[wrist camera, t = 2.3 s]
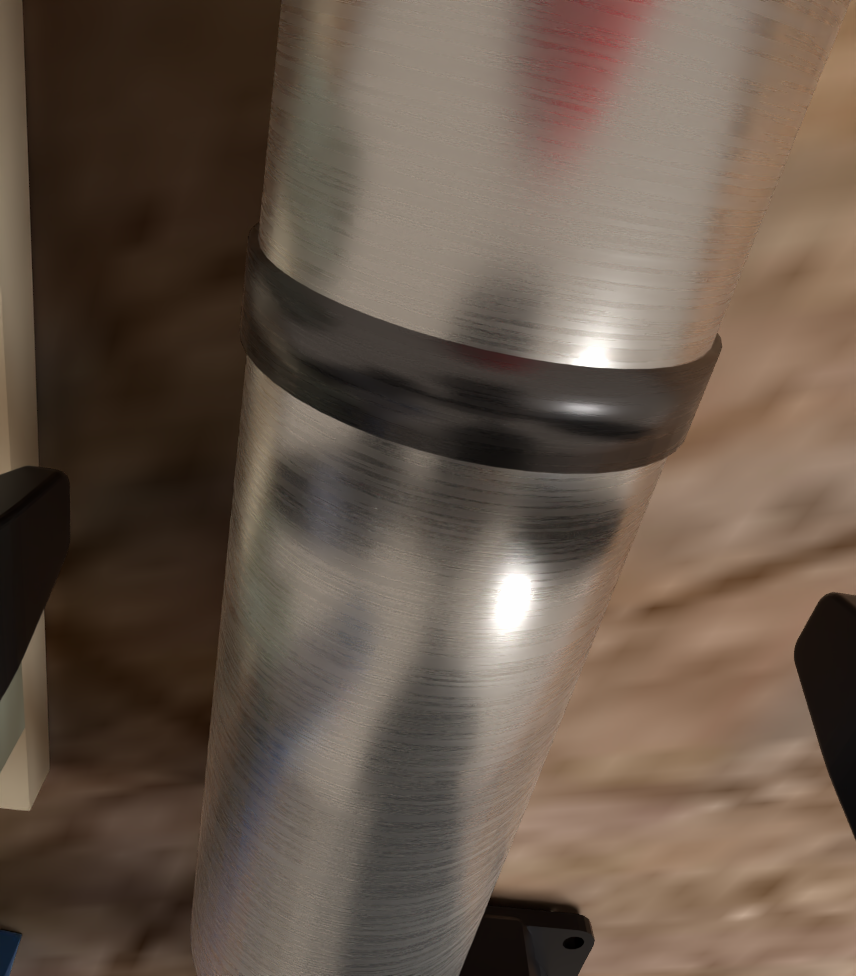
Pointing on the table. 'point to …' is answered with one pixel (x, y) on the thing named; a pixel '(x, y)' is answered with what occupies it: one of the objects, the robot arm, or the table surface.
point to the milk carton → (8, 950)
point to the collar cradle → (18, 410)
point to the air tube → (458, 429)
